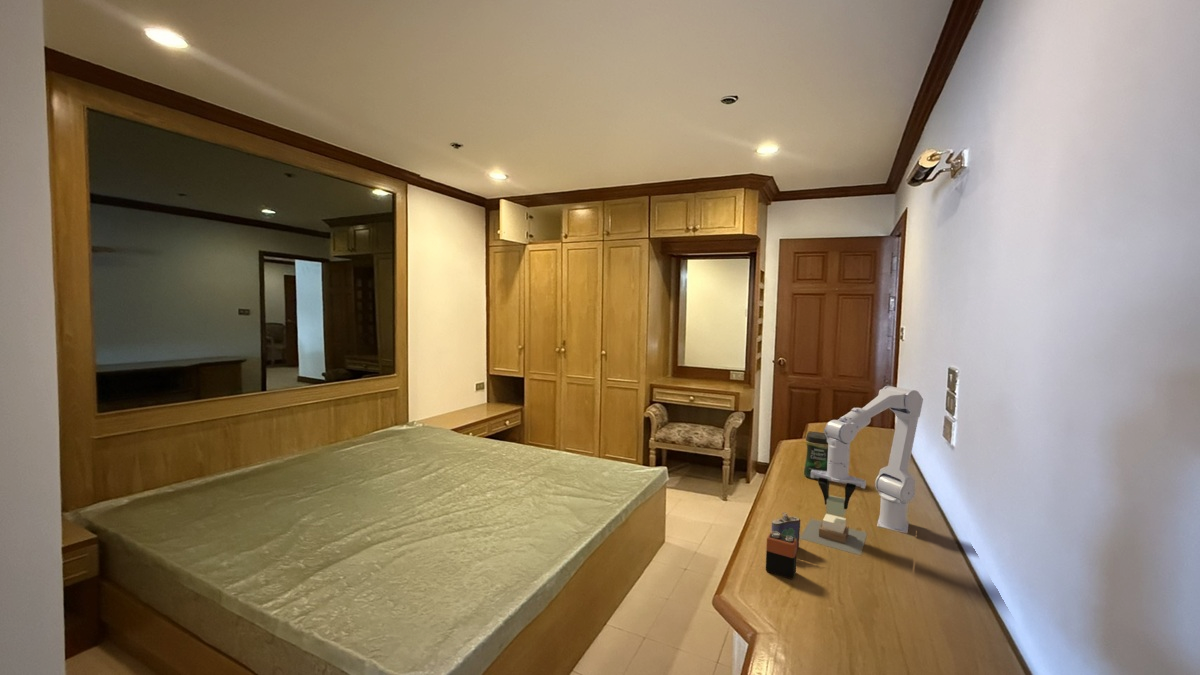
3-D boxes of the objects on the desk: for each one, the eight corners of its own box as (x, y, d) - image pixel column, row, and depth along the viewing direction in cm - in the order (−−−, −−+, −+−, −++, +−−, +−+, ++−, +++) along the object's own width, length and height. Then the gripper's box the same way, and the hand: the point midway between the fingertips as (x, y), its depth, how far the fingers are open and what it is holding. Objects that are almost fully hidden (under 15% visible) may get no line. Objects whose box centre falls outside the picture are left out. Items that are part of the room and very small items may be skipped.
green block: (829, 508, 143) (829, 495, 142) (845, 511, 140) (845, 498, 140) (826, 513, 139) (826, 500, 139) (843, 517, 136) (843, 503, 136)
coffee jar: (802, 478, 189) (804, 432, 188) (805, 472, 196) (807, 428, 195) (829, 482, 184) (831, 436, 183) (830, 476, 191) (832, 432, 190)
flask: (774, 555, 130) (775, 517, 129) (767, 550, 132) (768, 513, 132) (801, 550, 132) (802, 513, 132) (793, 545, 135) (795, 509, 135)
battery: (769, 564, 125) (770, 527, 124) (796, 572, 121) (797, 534, 121) (765, 571, 121) (766, 534, 121) (793, 580, 118) (794, 541, 117)
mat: (810, 519, 152) (810, 518, 152) (867, 534, 142) (867, 532, 142) (799, 539, 139) (799, 538, 139) (860, 556, 129) (860, 555, 129)
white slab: (825, 521, 144) (826, 513, 144) (845, 526, 141) (846, 518, 141) (822, 528, 140) (822, 520, 139) (842, 533, 136) (843, 525, 136)
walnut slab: (823, 527, 145) (823, 520, 145) (848, 534, 141) (848, 526, 141) (818, 536, 140) (819, 528, 139) (845, 543, 136) (845, 535, 135)
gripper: (809, 459, 140) (807, 504, 141) (864, 470, 131) (862, 517, 132) (813, 453, 145) (812, 496, 146) (867, 463, 137) (865, 508, 138)
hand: (836, 505), depth 140 cm, fingers closed on green block, 4 cm apart
